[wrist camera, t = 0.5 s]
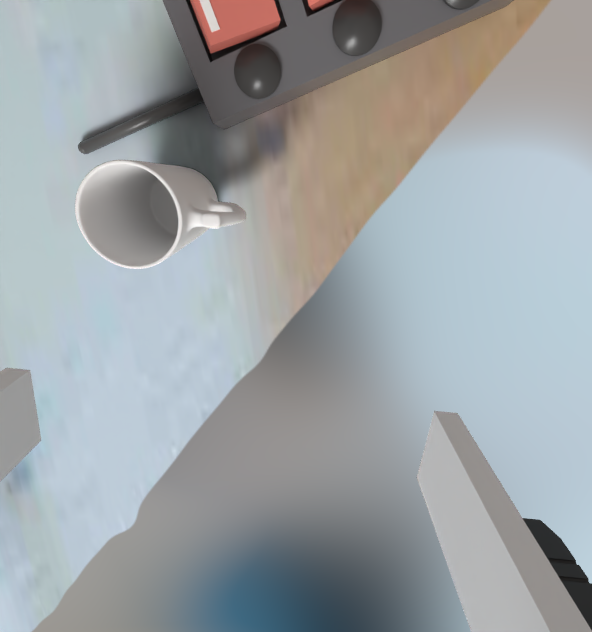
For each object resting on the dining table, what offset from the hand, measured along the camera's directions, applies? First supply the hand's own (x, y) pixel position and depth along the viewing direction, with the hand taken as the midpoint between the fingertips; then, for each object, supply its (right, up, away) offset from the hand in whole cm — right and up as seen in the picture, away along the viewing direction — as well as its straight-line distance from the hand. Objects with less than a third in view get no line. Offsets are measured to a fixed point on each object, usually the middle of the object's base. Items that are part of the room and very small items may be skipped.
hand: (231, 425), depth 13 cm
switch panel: (0, +26, +19) cm, 32 cm away
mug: (-6, +14, +23) cm, 28 cm away
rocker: (-2, +25, +14) cm, 29 cm away
